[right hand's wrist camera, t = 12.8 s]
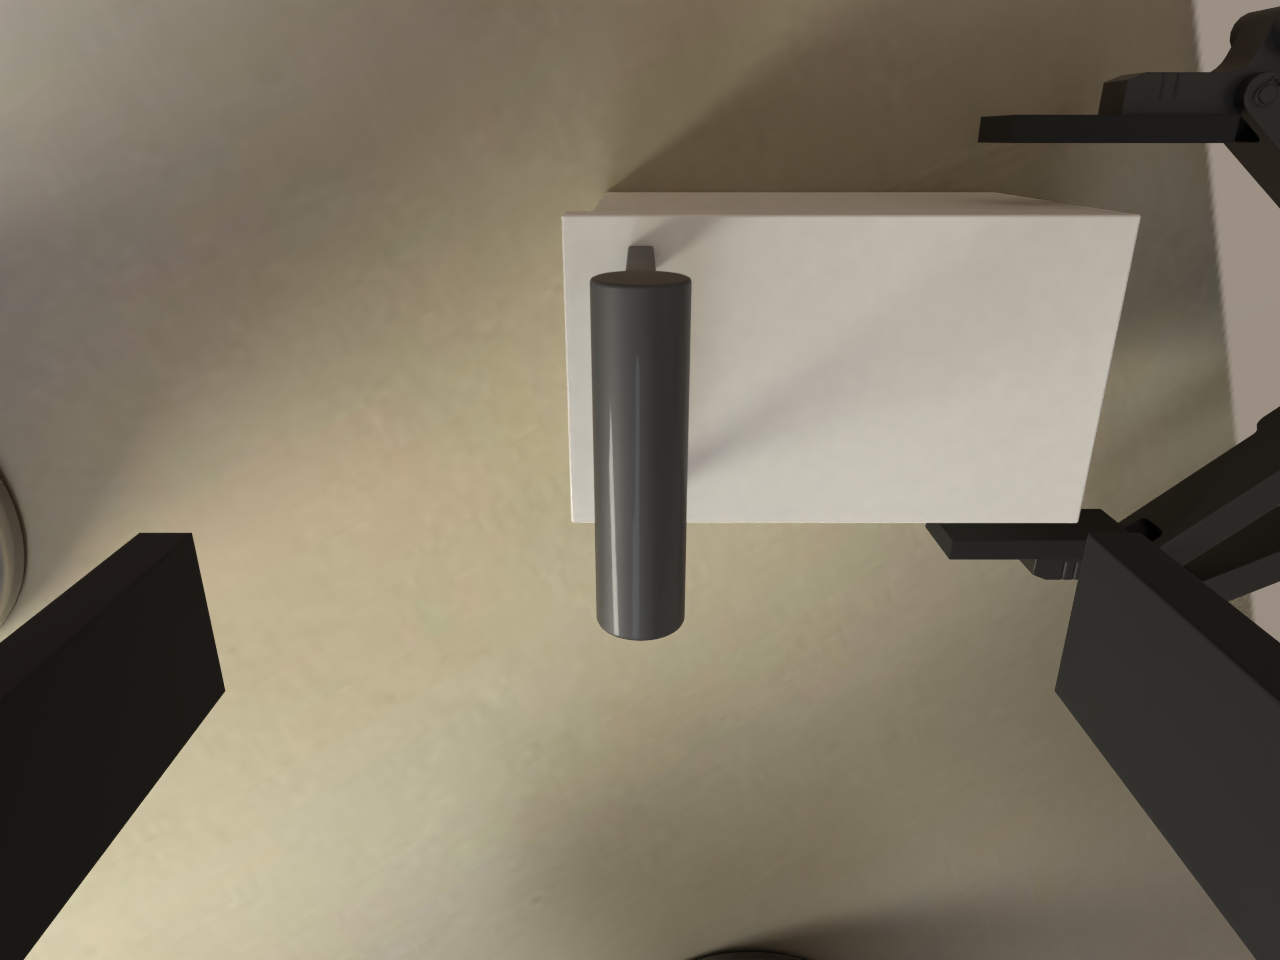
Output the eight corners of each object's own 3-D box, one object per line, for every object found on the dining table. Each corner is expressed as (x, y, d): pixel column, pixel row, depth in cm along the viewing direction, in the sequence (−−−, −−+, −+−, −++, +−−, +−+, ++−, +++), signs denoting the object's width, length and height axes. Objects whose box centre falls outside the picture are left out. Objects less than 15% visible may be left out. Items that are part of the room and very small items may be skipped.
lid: (574, 507, 28) (544, 667, 20) (564, 210, 25) (524, 248, 16) (1060, 507, 28) (1242, 668, 20) (1119, 210, 25) (1369, 248, 16)
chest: (608, 420, 37) (597, 507, 28) (605, 191, 33) (592, 210, 25) (961, 420, 37) (1059, 507, 28) (995, 192, 33) (1118, 210, 25)
